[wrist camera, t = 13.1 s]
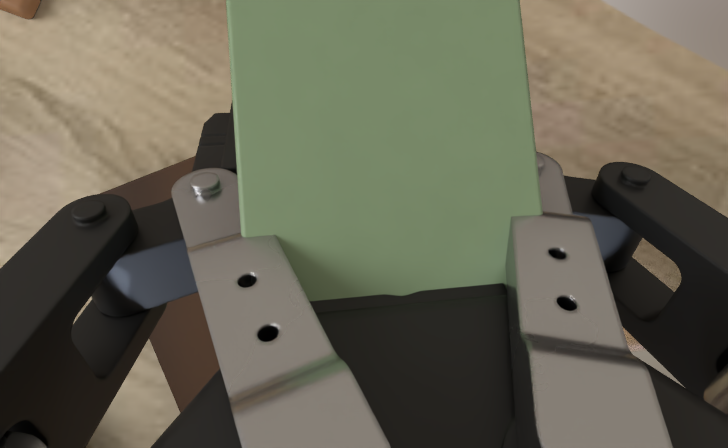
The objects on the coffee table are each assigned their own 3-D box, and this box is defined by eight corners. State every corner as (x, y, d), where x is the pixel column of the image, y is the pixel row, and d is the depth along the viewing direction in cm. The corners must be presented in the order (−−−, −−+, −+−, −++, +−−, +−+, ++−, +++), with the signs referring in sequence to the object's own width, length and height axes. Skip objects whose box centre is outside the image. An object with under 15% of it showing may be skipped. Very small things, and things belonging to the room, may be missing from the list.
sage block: (399, 124, 17) (515, -56, 7) (414, 284, 17) (557, 321, 7) (276, 130, 17) (220, -55, 7) (287, 296, 16) (247, 353, 6)
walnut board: (359, 98, 31) (361, 89, 30) (466, 341, 31) (475, 346, 29) (100, 200, 29) (87, 197, 27) (212, 463, 29) (205, 477, 27)
